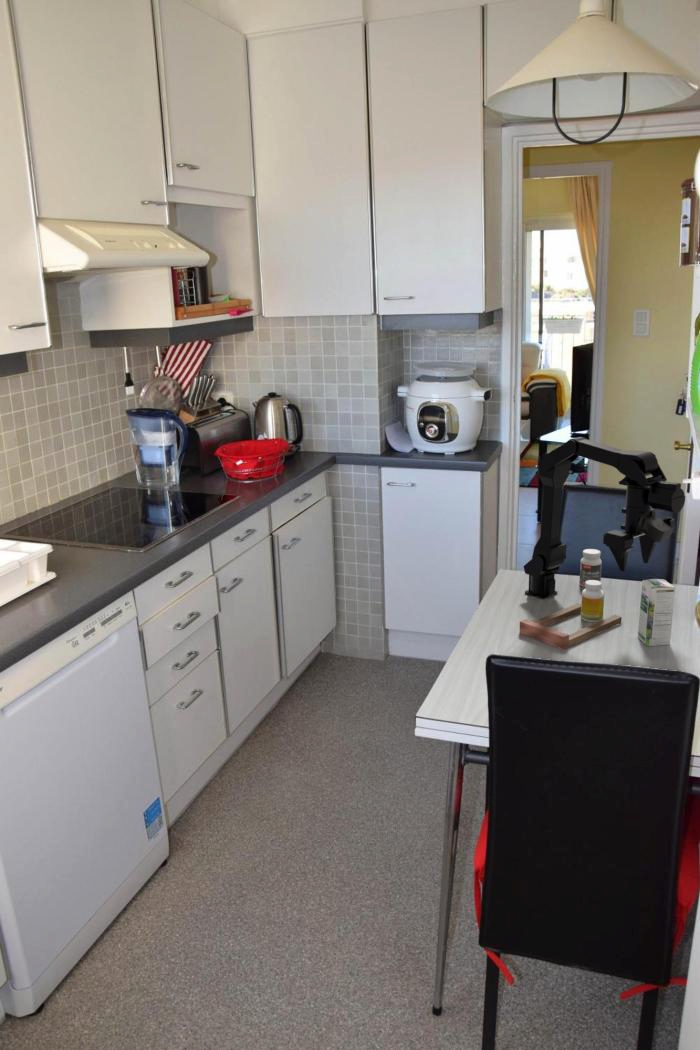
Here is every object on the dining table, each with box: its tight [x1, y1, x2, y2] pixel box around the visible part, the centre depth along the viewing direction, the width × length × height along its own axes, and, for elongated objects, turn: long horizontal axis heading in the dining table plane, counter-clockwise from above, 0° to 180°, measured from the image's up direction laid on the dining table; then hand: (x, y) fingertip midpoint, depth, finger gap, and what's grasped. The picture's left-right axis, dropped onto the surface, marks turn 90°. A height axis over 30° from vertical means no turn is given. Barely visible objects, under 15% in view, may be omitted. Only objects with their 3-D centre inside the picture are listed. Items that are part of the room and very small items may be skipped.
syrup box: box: [637, 578, 676, 647], centre depth 196 cm, size 6×6×14 cm
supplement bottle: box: [580, 580, 605, 623], centre depth 211 cm, size 5×5×10 cm
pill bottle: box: [578, 548, 603, 588], centre depth 234 cm, size 6×6×10 cm
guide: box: [519, 602, 623, 650], centre depth 207 cm, size 13×23×3 cm, turn 129°
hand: (634, 567), depth 205 cm, fingers open, 9 cm apart
